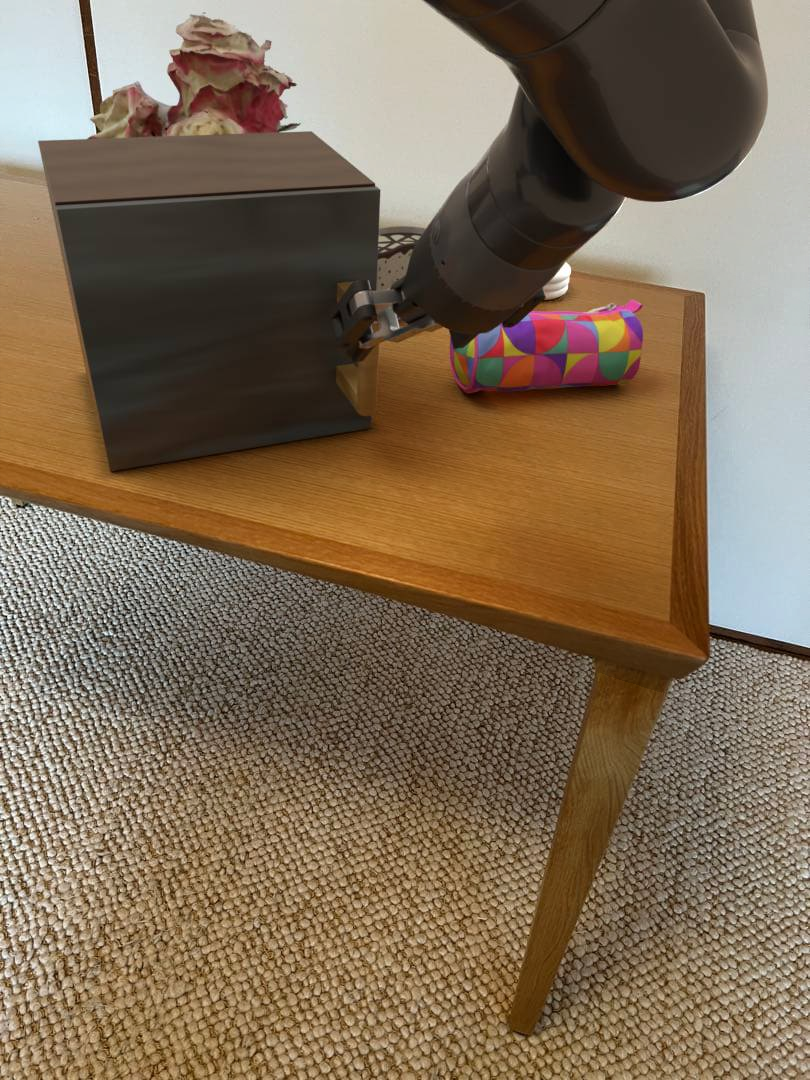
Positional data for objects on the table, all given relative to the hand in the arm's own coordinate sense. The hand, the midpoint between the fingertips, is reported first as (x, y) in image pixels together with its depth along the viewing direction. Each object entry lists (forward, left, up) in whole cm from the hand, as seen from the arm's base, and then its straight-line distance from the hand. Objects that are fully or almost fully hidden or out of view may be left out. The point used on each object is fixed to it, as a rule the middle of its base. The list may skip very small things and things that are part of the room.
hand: (405, 343), depth 63 cm
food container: (+16, +41, -17) cm, 47 cm away
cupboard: (-10, +24, -16) cm, 31 cm away
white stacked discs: (+39, +43, -17) cm, 60 cm away
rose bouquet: (-2, +64, -17) cm, 66 cm away
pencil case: (+26, +18, -17) cm, 35 cm away
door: (-10, +11, -16) cm, 22 cm away
